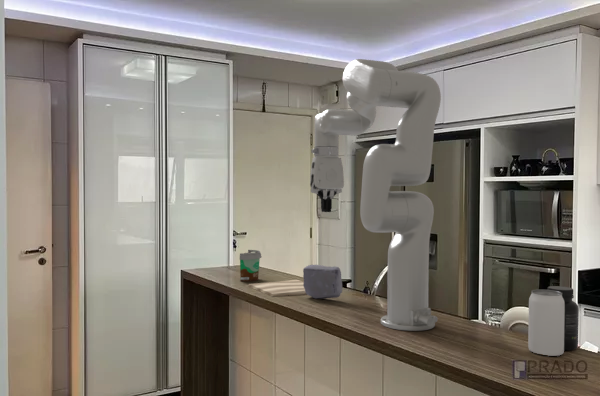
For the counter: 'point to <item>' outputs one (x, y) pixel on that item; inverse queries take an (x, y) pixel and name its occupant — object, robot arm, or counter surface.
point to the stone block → (322, 281)
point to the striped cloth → (280, 288)
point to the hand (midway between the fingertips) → (326, 211)
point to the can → (546, 322)
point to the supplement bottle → (569, 317)
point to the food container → (249, 265)
